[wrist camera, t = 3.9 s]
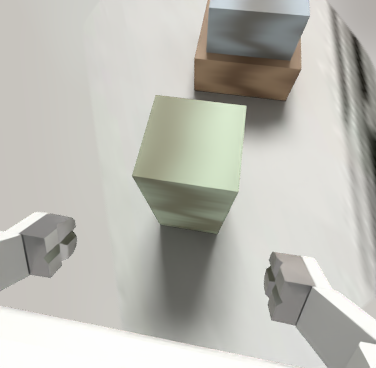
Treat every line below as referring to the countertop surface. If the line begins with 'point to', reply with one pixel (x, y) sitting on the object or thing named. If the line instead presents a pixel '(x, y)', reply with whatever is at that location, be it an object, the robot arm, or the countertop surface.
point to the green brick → (191, 161)
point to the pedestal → (250, 47)
